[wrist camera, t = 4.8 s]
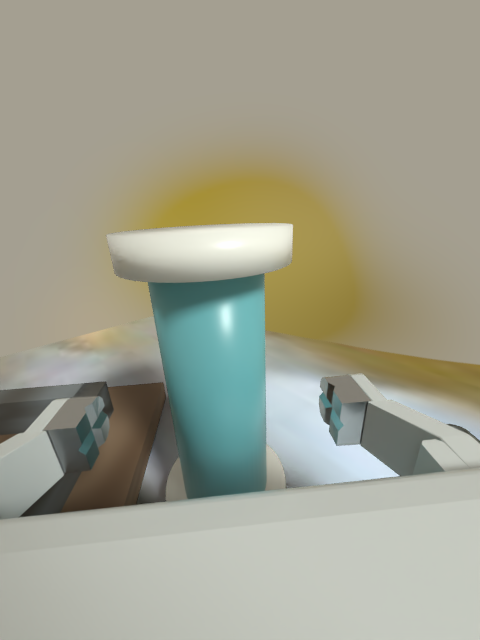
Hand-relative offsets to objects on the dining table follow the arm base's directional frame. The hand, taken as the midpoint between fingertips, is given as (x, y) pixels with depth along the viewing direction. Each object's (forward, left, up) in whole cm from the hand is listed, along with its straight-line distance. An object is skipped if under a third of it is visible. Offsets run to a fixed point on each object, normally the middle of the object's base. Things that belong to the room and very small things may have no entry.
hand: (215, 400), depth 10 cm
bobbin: (0, +2, -8) cm, 8 cm away
